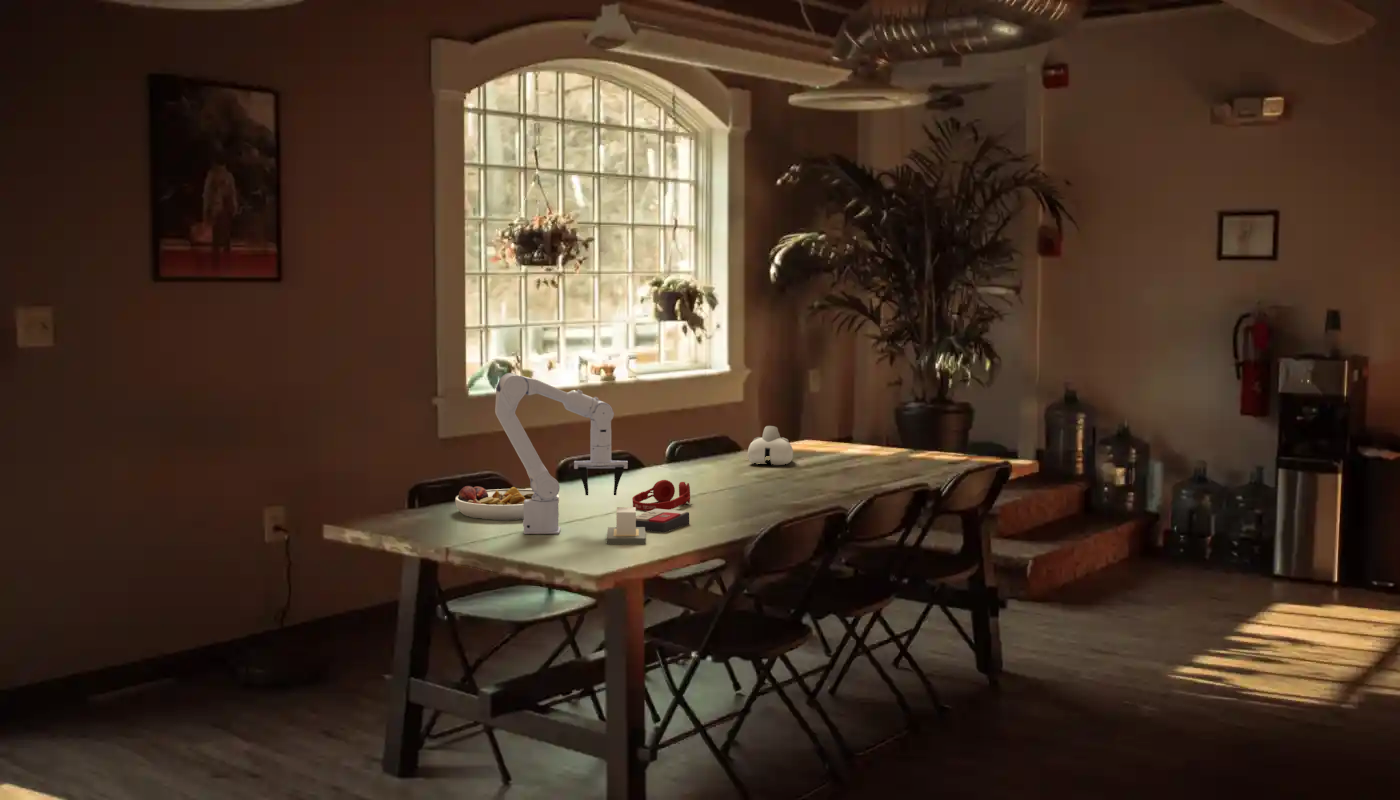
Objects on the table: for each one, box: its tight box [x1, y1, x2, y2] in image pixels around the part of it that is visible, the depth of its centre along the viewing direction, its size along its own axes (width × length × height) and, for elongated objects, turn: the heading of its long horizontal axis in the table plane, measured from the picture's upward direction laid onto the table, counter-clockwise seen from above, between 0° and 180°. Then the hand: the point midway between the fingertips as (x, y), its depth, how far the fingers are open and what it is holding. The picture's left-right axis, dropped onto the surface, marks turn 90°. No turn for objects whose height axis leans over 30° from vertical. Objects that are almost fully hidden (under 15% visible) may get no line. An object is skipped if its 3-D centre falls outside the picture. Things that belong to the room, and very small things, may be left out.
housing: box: [615, 506, 637, 535], centre depth 359 cm, size 5×8×6 cm, turn 3°
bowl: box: [454, 485, 560, 521], centre depth 399 cm, size 30×30×8 cm
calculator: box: [636, 509, 690, 534], centre depth 377 cm, size 11×4×15 cm
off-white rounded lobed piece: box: [747, 425, 794, 466], centre depth 507 cm, size 22×23×15 cm
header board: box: [606, 526, 646, 545], centre depth 360 cm, size 10×16×5 cm, turn 3°
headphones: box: [632, 479, 691, 512], centre depth 411 cm, size 15×7×20 cm
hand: (601, 494), depth 373 cm, fingers open, 7 cm apart
